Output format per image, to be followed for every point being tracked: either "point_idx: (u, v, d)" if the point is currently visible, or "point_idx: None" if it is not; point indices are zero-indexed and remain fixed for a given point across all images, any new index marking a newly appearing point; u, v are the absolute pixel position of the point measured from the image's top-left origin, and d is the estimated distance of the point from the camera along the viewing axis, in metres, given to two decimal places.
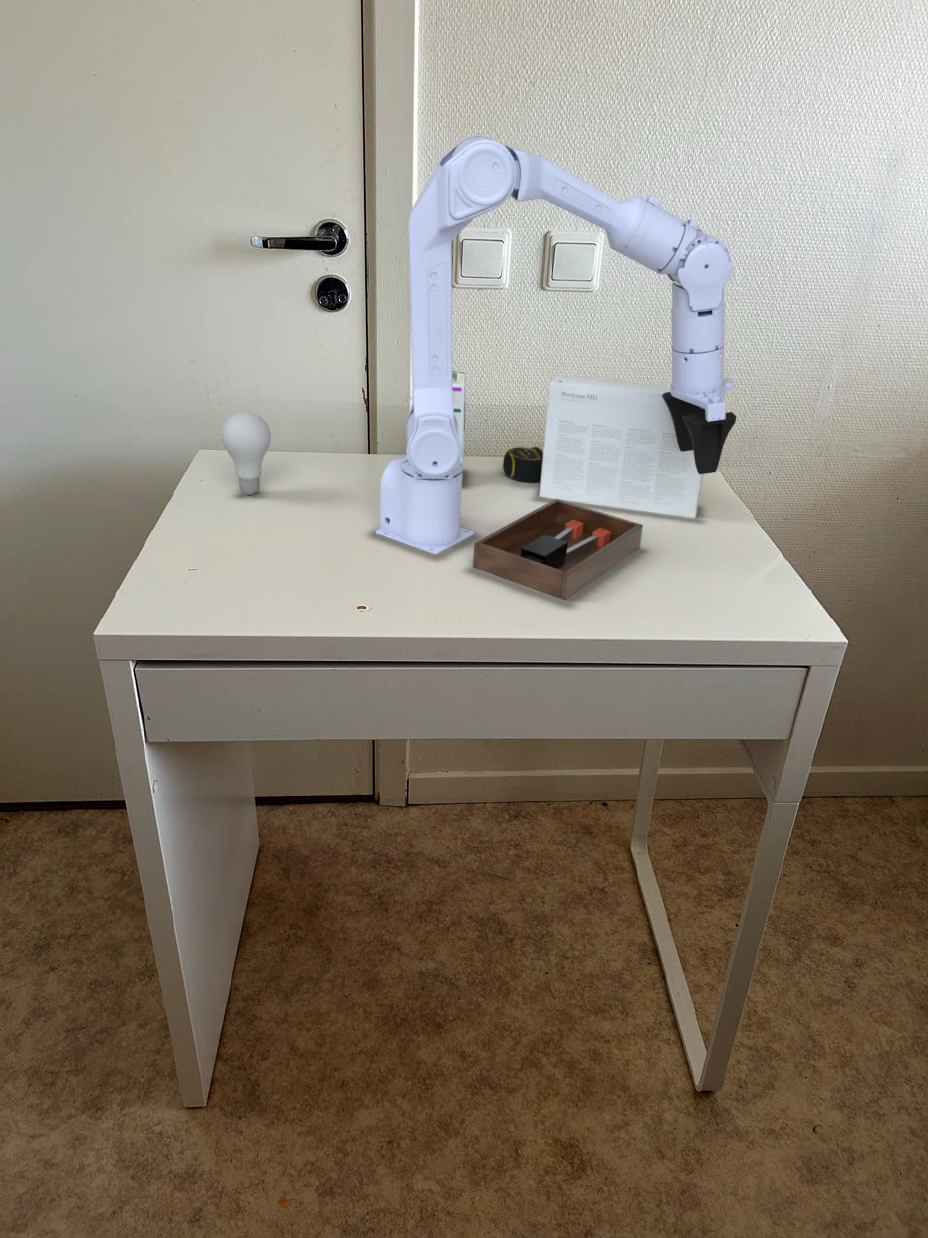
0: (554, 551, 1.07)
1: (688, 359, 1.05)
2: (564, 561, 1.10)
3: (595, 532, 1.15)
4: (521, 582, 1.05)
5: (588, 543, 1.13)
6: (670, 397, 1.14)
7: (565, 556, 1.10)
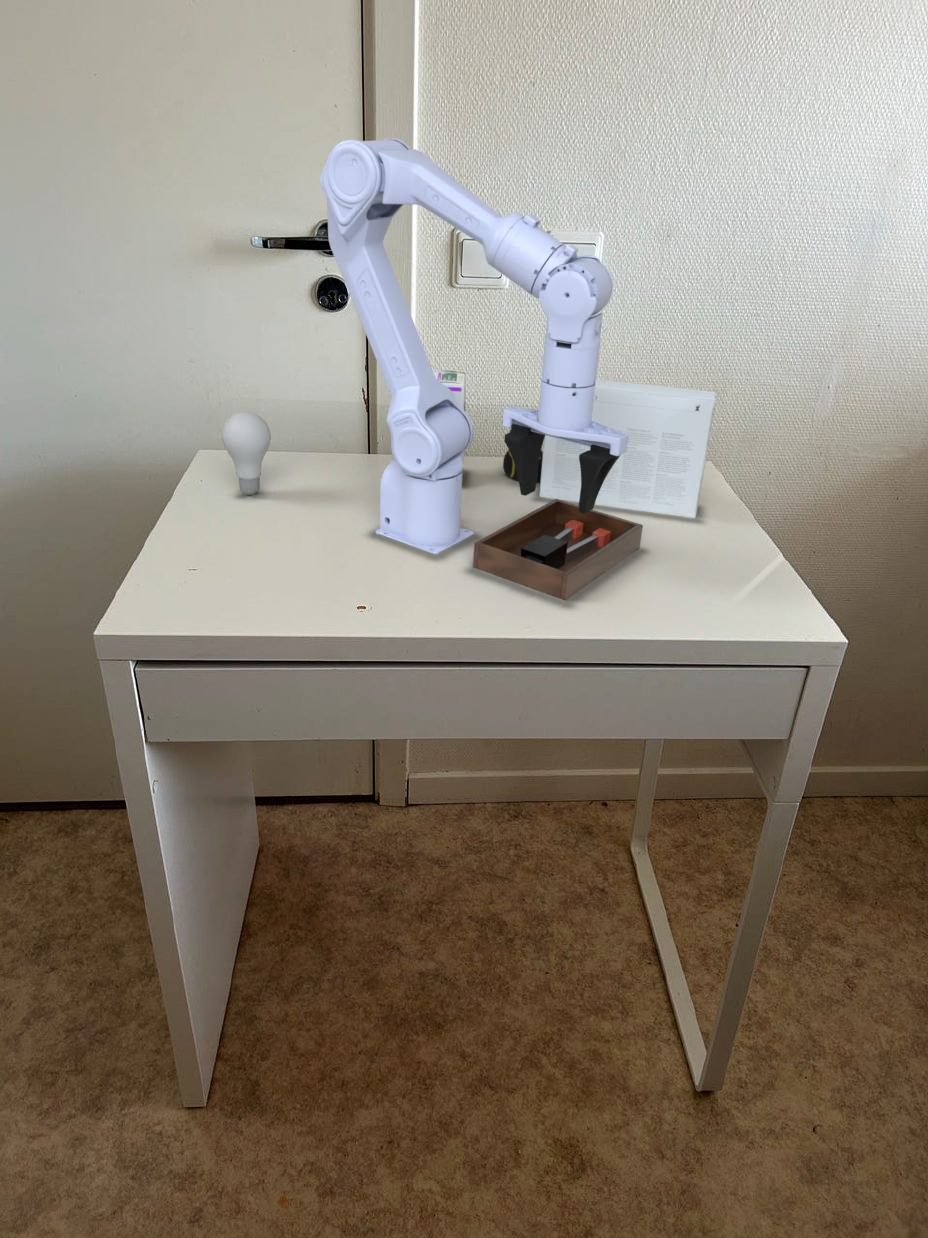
0: (554, 551, 1.07)
1: (578, 394, 0.98)
2: (564, 561, 1.10)
3: (595, 532, 1.15)
4: (521, 582, 1.05)
5: (588, 543, 1.13)
6: (520, 438, 1.04)
7: (565, 556, 1.10)
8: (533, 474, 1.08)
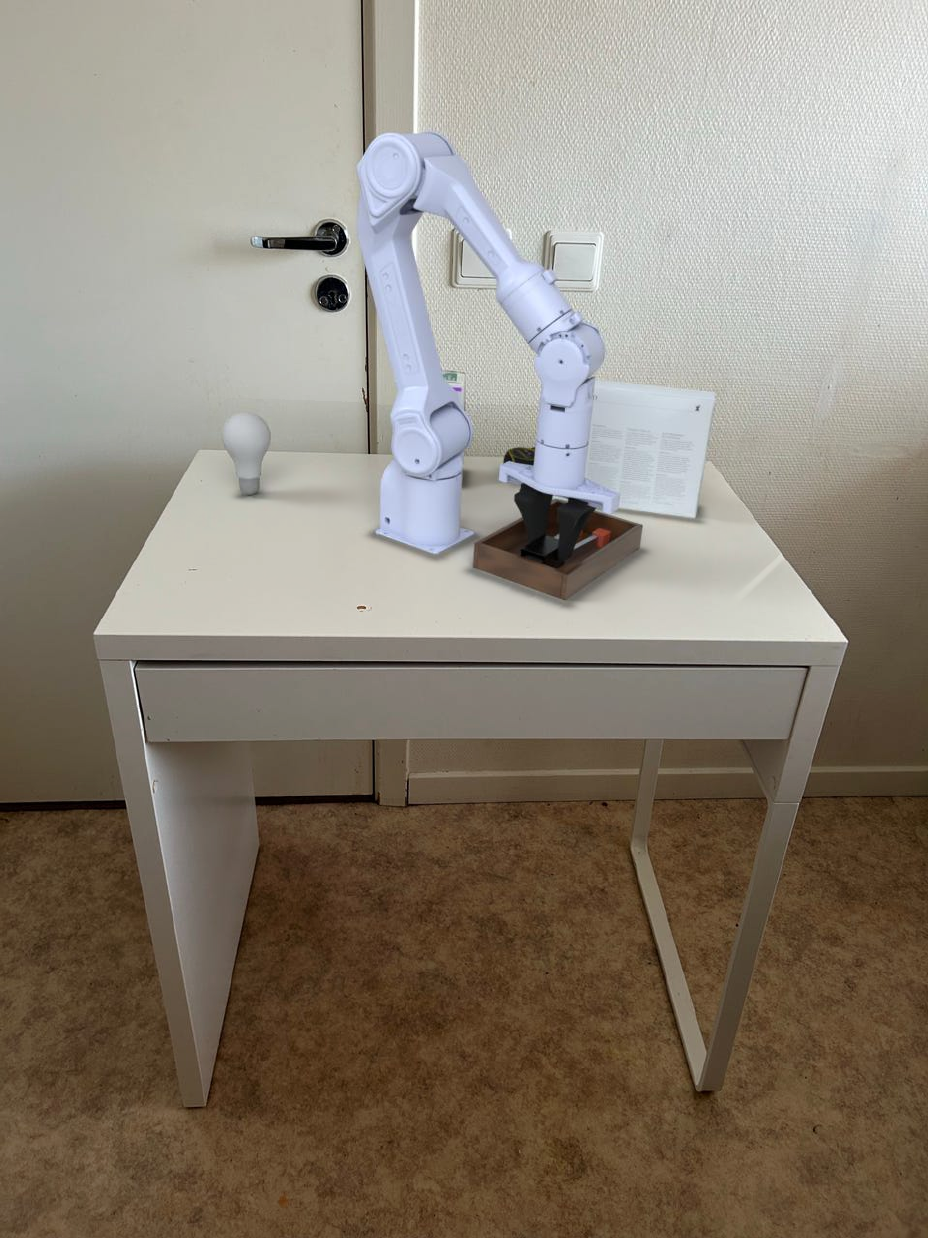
0: (553, 551, 1.07)
1: (572, 454, 1.01)
2: (564, 561, 1.10)
3: (595, 532, 1.15)
4: (521, 582, 1.05)
5: (588, 543, 1.13)
6: (530, 498, 1.06)
7: None
8: (542, 531, 1.10)
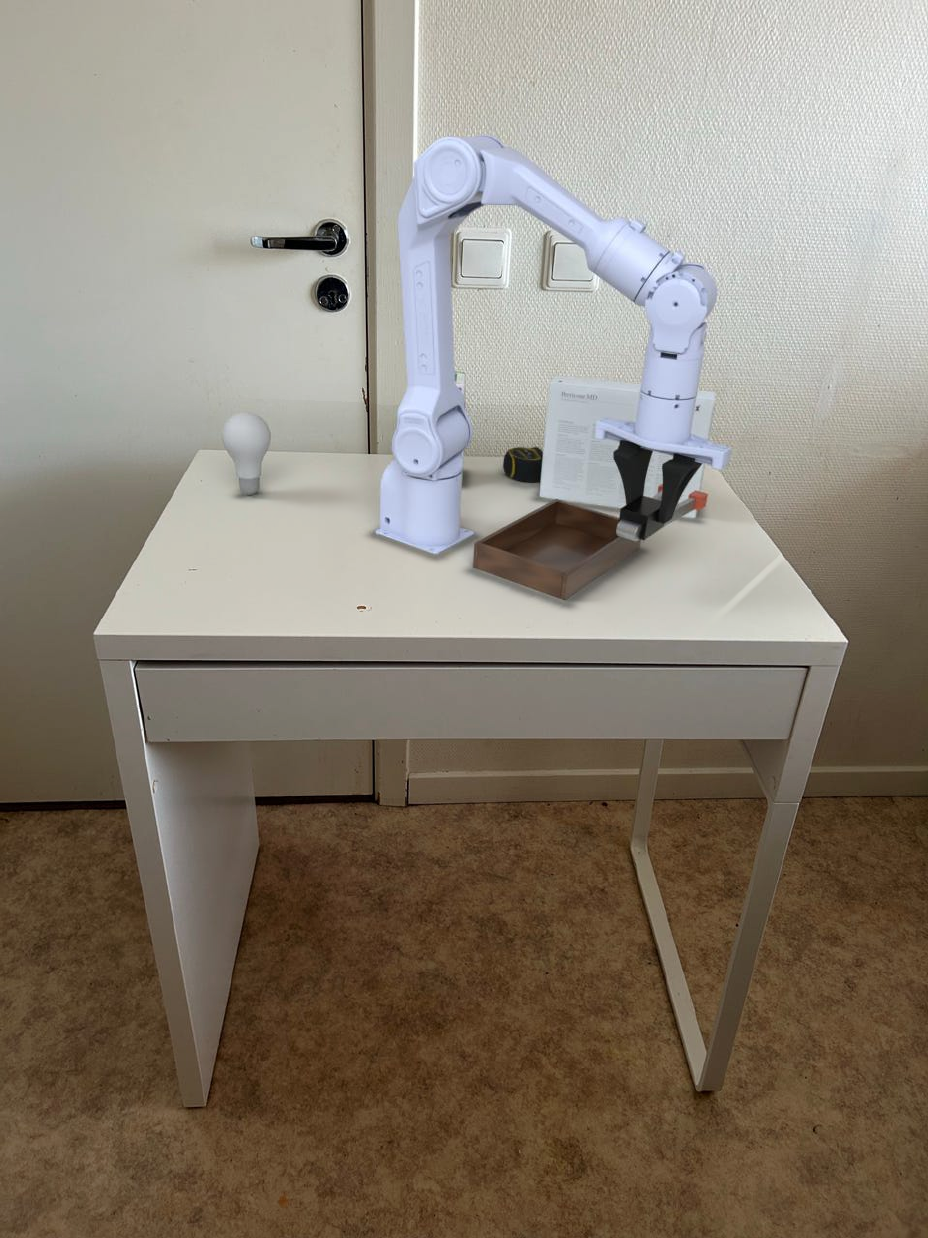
0: (655, 511, 1.00)
1: (681, 406, 0.95)
2: None
3: (692, 494, 1.08)
4: (521, 582, 1.05)
5: (686, 505, 1.06)
6: (631, 455, 1.00)
7: None
8: (640, 492, 1.04)
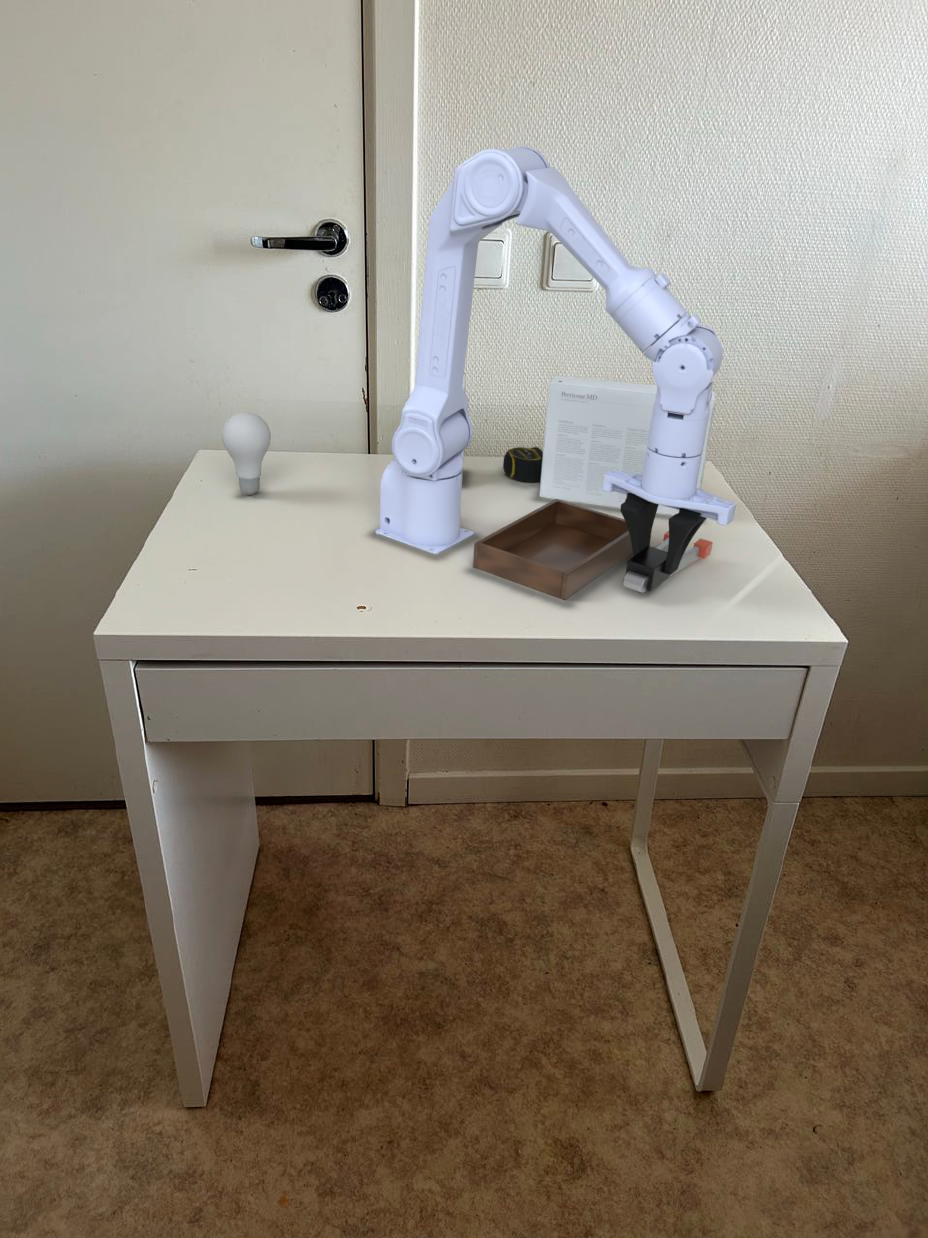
0: (662, 563, 1.03)
1: (687, 464, 0.97)
2: None
3: (697, 543, 1.11)
4: (521, 582, 1.05)
5: (691, 554, 1.09)
6: (638, 509, 1.02)
7: None
8: (646, 543, 1.06)
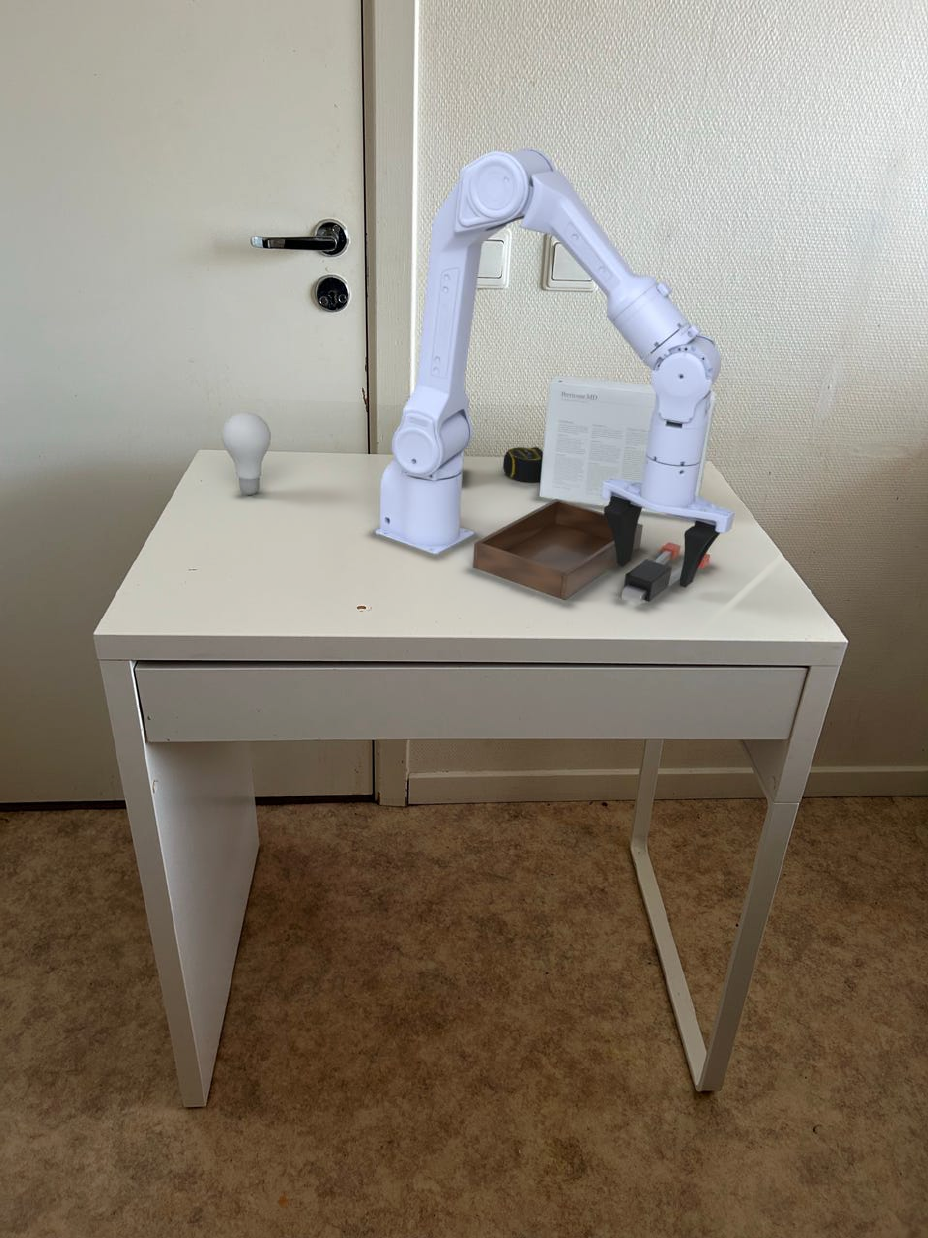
0: (659, 577, 1.04)
1: (685, 472, 0.98)
2: None
3: None
4: (521, 582, 1.05)
5: None
6: (621, 512, 1.03)
7: (668, 581, 1.06)
8: (630, 545, 1.07)
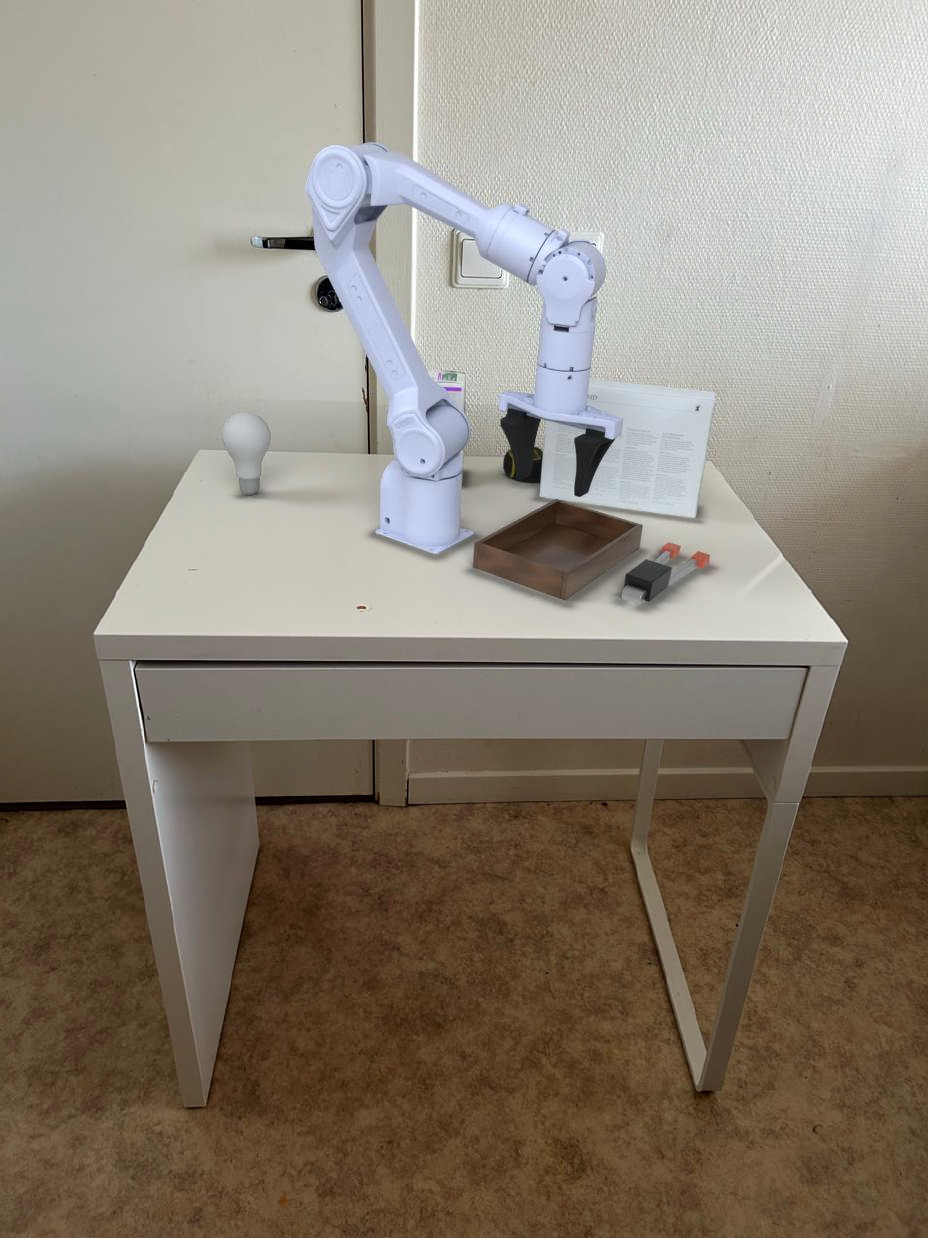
0: (659, 577, 1.04)
1: (574, 377, 0.99)
2: None
3: (695, 556, 1.11)
4: (521, 582, 1.05)
5: (689, 567, 1.10)
6: (516, 422, 1.05)
7: (668, 581, 1.06)
8: (529, 458, 1.09)
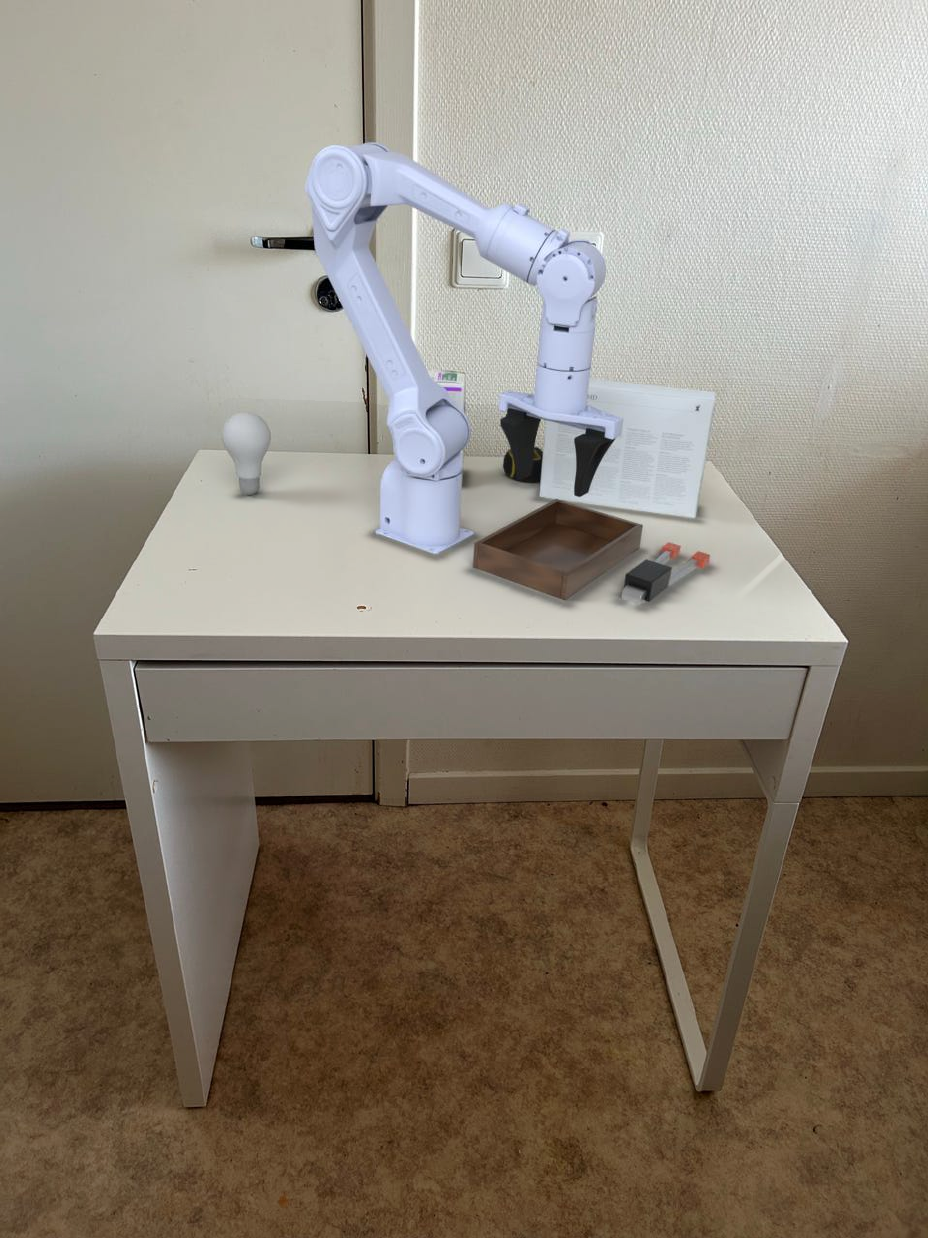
0: (659, 577, 1.04)
1: (574, 377, 0.99)
2: None
3: (695, 556, 1.11)
4: (521, 582, 1.05)
5: (689, 567, 1.10)
6: (516, 422, 1.05)
7: (668, 581, 1.06)
8: (529, 458, 1.09)
